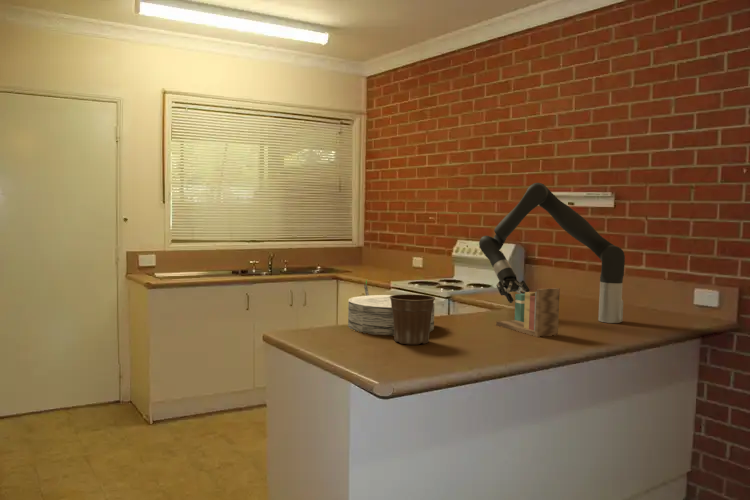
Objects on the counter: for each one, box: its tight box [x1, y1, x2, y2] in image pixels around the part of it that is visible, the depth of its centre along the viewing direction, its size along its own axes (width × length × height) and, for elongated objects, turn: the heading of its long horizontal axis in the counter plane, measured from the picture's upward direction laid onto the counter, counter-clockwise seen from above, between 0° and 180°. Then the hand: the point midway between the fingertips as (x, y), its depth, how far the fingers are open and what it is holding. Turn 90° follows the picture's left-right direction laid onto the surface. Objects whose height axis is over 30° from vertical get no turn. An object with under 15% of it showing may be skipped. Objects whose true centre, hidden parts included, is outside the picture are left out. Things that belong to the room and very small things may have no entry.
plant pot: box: [390, 293, 436, 346], centre depth 221 cm, size 16×16×16 cm
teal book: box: [514, 293, 525, 322], centre depth 265 cm, size 5×4×12 cm
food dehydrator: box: [347, 279, 435, 336], centre depth 250 cm, size 38×34×18 cm
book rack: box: [496, 287, 561, 338], centre depth 247 cm, size 10×26×18 cm, turn 26°
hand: (520, 301), depth 266 cm, fingers open, 8 cm apart
